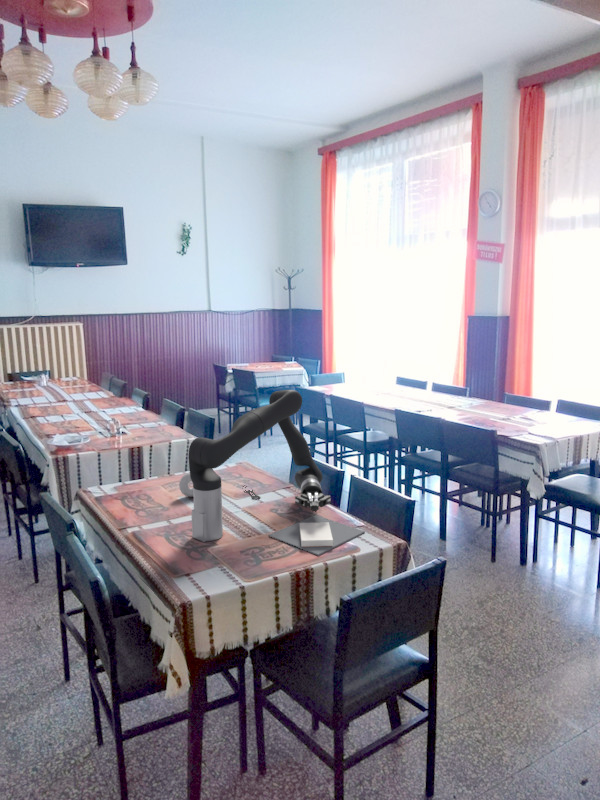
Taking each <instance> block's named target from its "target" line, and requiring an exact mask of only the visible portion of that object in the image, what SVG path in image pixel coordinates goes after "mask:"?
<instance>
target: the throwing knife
mask: <svg viewBox="0 0 600 800" xmlns="http://www.w3.org/2000/svg"><path fill="white" fill-rule="evenodd" d="M243 485H244V486H246V487H248V486H247V485H245V484H243ZM244 486H243V487H244ZM253 490H254V489H252V491H250V490H249V491H246V490H245V491H246V492H248V493H249V494H248V493H247V494H248V495H250V496H252V495H253V494H254V495H255V496H252V497H251V500H254V499H258V500H260V499H261V496H259V495H258V494H256V493H255V491H254V492H253ZM250 492H251V493H253V494H252V495H251V494H250ZM257 497H258V498H257Z"/></svg>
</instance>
